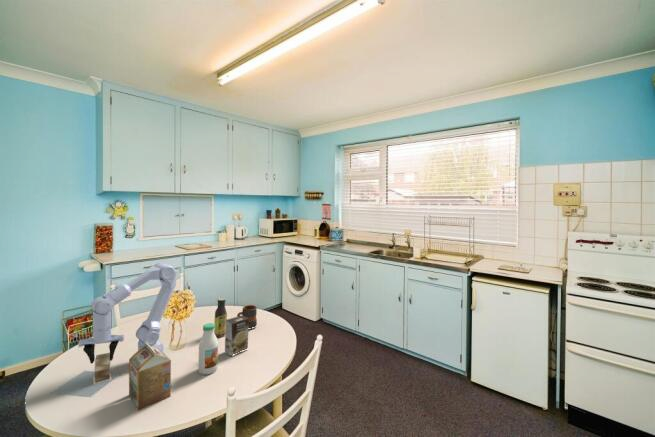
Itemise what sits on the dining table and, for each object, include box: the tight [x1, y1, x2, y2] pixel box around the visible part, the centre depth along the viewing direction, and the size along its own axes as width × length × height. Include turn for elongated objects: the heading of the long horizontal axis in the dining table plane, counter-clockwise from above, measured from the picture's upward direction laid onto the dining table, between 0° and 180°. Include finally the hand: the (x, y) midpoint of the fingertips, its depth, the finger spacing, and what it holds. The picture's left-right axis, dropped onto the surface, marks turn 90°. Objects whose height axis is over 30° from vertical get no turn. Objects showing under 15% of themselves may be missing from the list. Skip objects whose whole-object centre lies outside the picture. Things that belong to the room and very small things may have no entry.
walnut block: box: [94, 367, 111, 383], centre depth 117 cm, size 4×4×4 cm
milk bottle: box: [198, 322, 219, 375], centre depth 126 cm, size 8×8×20 cm
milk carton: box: [128, 342, 172, 411], centre depth 108 cm, size 11×11×19 cm
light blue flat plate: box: [50, 370, 121, 398], centre depth 114 cm, size 16×15×1 cm
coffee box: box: [224, 315, 249, 355], centre depth 143 cm, size 9×6×16 cm
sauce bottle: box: [213, 297, 228, 338], centre depth 158 cm, size 7×6×20 cm
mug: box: [236, 304, 258, 328], centre depth 169 cm, size 9×12×12 cm
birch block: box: [94, 352, 111, 372], centre depth 117 cm, size 4×4×4 cm
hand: (102, 360), depth 117 cm, fingers open, 6 cm apart
